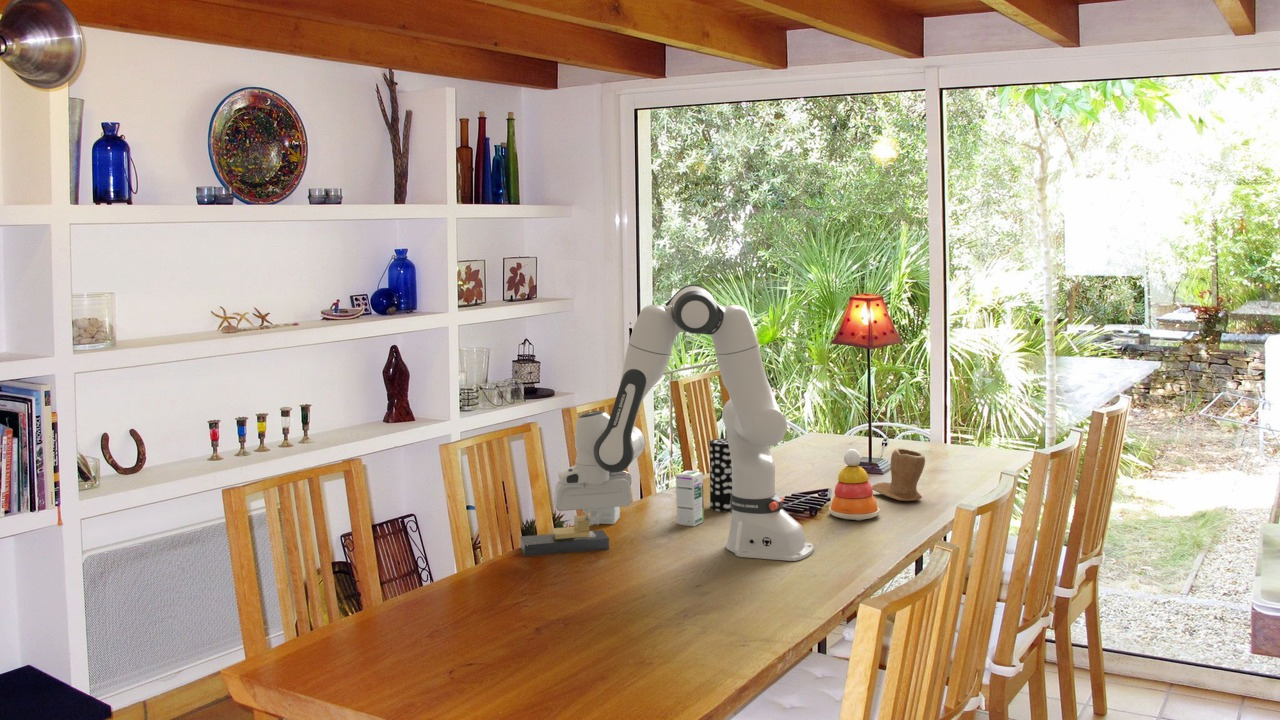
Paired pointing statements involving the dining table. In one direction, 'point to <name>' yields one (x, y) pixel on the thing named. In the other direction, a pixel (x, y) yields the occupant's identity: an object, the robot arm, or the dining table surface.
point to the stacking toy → (853, 491)
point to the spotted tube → (720, 475)
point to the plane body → (563, 544)
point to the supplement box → (607, 515)
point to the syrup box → (689, 498)
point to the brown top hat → (903, 476)
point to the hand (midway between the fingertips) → (593, 524)
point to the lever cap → (573, 529)
